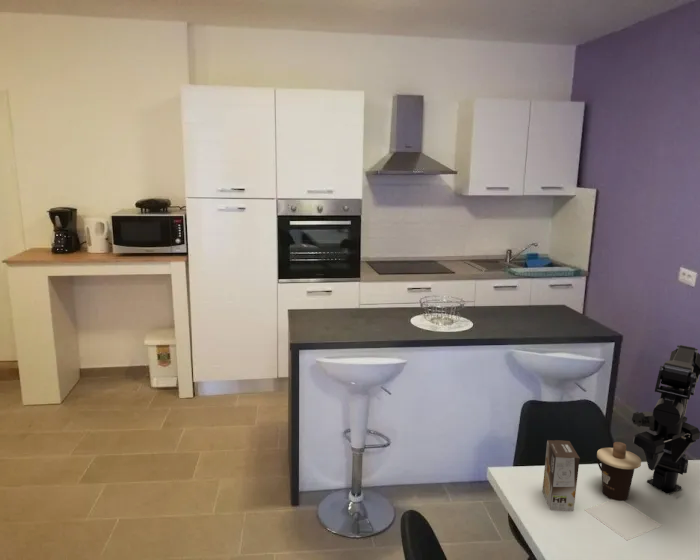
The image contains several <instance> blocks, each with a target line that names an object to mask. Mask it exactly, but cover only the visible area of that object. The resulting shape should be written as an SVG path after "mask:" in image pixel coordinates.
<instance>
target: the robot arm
mask: <svg viewBox="0 0 700 560" xmlns="http://www.w3.org/2000/svg"><path fill="white" fill-rule="evenodd" d="M699 380H700V353H699V348H696V347H694V346H688V345H683V344H680V345H678V344H677V345H676V349H675V350H674V349H673V351H670V355H669V360H665V362H664V363H663V364H662V365H660V367H659V370H658V374H657V378H656V383H655V388H654V392H655V393H659V394H660V397H659V399H658V400H657V403H656V404H655V406H654V408H653V411H642V412H639V411H636V412H633V413H632V418H631V421H632V424H633V425H635V426H636V427H639V428H640V427H645V428H649V429H648V430H649V431H651V432H655V433H656V434H653V433H651V432H648V430H647V431H643V432H640V433H636V434H634V435H633V439H632V440H633V442H632V443H633V444H634V445H636V446H638V447H639V448H640V449H642V451H643V452H644V455H645V459H646V463H647V467H648V470H650V471H653V473H652V478H650V479H647V481H646V483H647V484H648V485H650V486H653V487H654V488H655V489H657V490H659V491H661V492H662V493H664V494H667V495H670V494H672V493H675V492H677V491H680V490H682V486H680V485H679V484H677V483H678V477H679V475H681V476H683V475H684V474H687V473H688V467H689V459H688V457H687V454H686V452H687V451H688V450H689V449H690V448H691V447H692V446H693V444H695V443H697V440H699V439H700V429H699V427H697V426H694V425H693V424H690V423H688V422H687V421H688V417H686V413H687V408H688V407H687V406H688V403H689V400H690V399H691V397H692V396H695V390H696V387H697V383H699Z"/></svg>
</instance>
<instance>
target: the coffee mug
mask: <svg viewBox="0 0 700 560" xmlns="http://www.w3.org/2000/svg"><path fill="white" fill-rule="evenodd" d="M596 461H597V466H598V467H599V469H600V472H601V483H602V484H601V486H602V488H601V489H602V493H603V495H604V496H605V497H607V498H608V499H609V500H612V499H613V500H618V501H624V502H625V501H626V500H628V498H629V493H630V490H631V486H632V482H633V481H632V480H633V477H634V473H635V469H621V468H616V467H612V466H609V465H607V464H605V463H603V462H601V461H600V460H599V459H598V458H597V457H596Z"/></svg>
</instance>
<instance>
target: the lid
mask: <svg viewBox="0 0 700 560" xmlns="http://www.w3.org/2000/svg"><path fill="white" fill-rule="evenodd" d="M612 445H613V447H601V448H600V449H598V450H597V452H596V459H597V458H598V459H599V462H600V463H601V462H603V463H605V464H607V465H609V466H612V467H616V468H621V469H634V470H635V469H638V468H641V466H642V459H641V458H640V456H638V455H637V454H635V453H634V452H631V451H630V450H627V444H625V443H624V442H621V441H615V442H613V444H612Z"/></svg>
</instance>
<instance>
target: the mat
mask: <svg viewBox="0 0 700 560" xmlns="http://www.w3.org/2000/svg"><path fill="white" fill-rule="evenodd" d="M584 512H586V513H588V514H589V515H590V516H592V517H593V518H595V519H596V520H598V521H599V522H600V523H602V524H603V525H605V526H606V527H607V528H608V529H610V530H611V531H613V532H614V533H615V534H617V535H619V536H620V537H621V538H623V539H624V540H626V541H629V540H632V539H634V538H637V537H639V536H641V535H644V534H646V533H648V532H649V533H650V532H651V531H653V530H656V529H658V528H660V527H662V526H663V525H661V524H660V523H659V522H657V521H656V520H654V519H652V518H651V517H649V516H648V515H646V514H645V513H643V512H642V511H640V510H639V509H637V508H636V507H634V506H633V505H630V504H629V503H627V502H626V501H625V500H624V501H618V500H613V499H609V500H607V501H605V502H601V503H599V504H596V505H593V506H590V507H588V508H585V509H584Z"/></svg>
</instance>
